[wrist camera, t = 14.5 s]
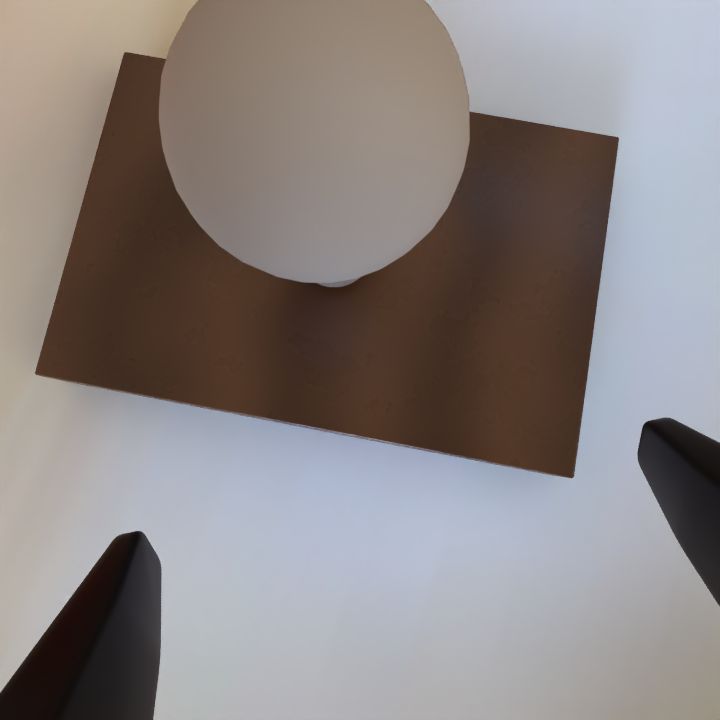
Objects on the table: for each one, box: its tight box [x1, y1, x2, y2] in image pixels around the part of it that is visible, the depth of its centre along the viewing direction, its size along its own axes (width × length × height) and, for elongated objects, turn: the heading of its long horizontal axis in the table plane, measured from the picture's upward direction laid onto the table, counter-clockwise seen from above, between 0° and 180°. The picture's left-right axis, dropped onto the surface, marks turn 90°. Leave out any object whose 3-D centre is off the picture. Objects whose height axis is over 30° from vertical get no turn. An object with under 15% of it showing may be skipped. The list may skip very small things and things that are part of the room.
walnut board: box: [35, 52, 619, 478], centre depth 21 cm, size 18×12×2 cm, turn 79°
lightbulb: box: [159, 0, 470, 287], centre depth 14 cm, size 6×6×11 cm
